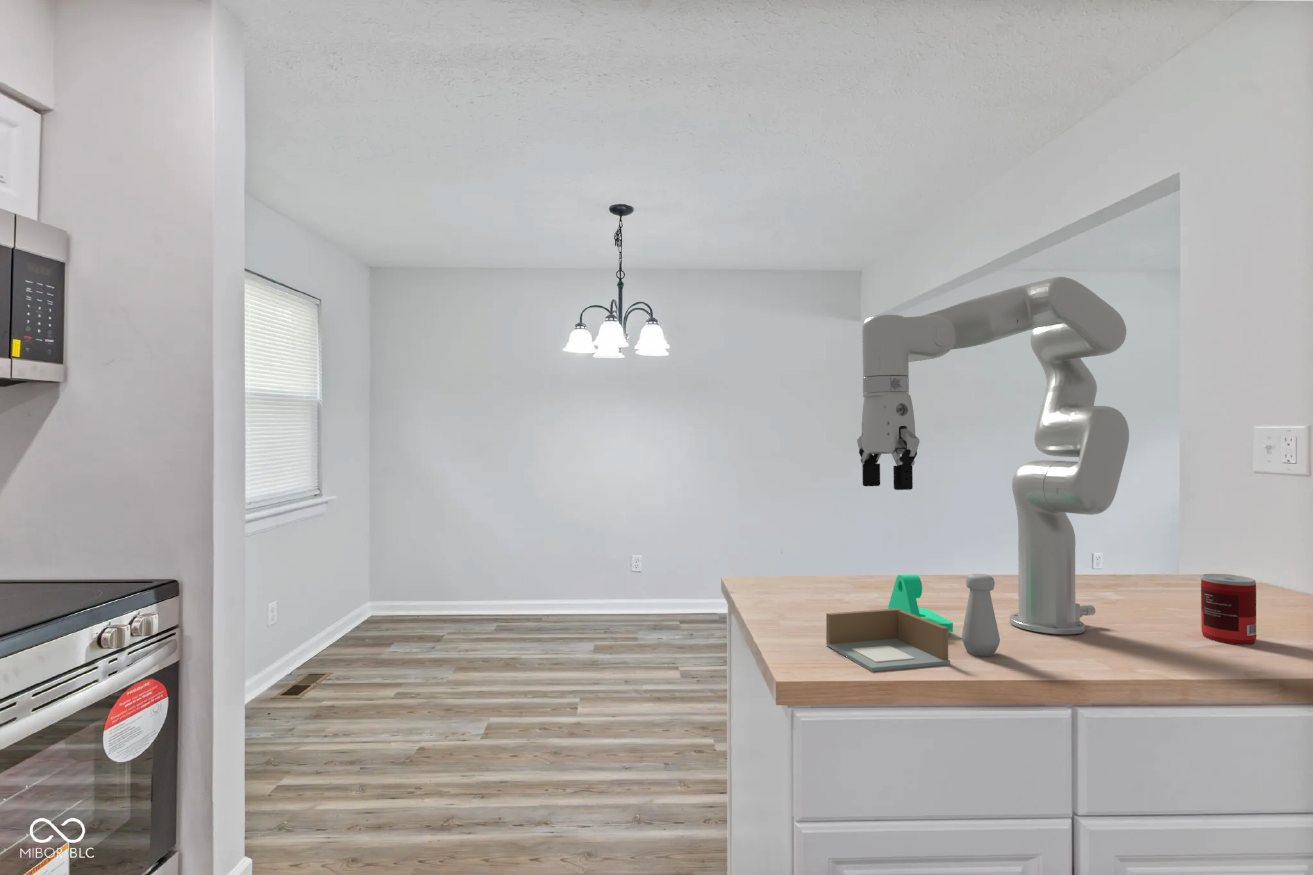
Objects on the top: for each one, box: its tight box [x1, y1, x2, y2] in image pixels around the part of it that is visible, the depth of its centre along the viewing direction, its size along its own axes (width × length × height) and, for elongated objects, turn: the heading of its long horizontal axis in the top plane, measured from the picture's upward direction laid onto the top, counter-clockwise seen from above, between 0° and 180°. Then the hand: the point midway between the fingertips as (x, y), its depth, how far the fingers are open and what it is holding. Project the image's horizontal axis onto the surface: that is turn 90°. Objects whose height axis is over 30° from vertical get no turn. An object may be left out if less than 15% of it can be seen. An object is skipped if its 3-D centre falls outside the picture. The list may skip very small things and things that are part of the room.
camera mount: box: [887, 574, 954, 633], centre depth 131 cm, size 12×8×10 cm, turn 3°
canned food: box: [1200, 573, 1257, 645], centre depth 125 cm, size 8×8×11 cm
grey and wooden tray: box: [825, 608, 951, 672], centre depth 115 cm, size 14×14×6 cm
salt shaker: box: [961, 573, 1001, 657], centre depth 116 cm, size 6×6×13 cm
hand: (886, 487), depth 120 cm, fingers open, 9 cm apart
